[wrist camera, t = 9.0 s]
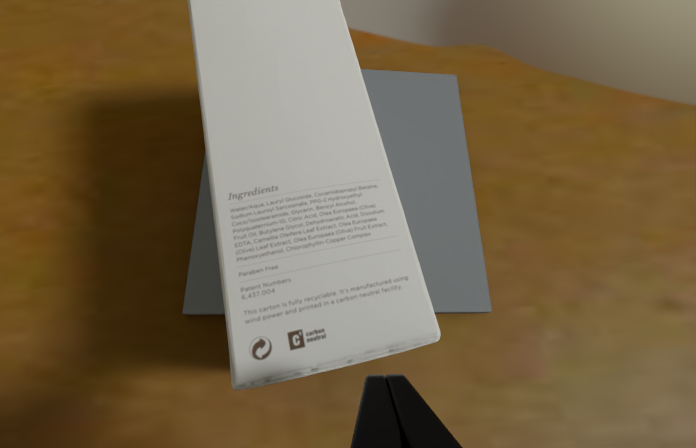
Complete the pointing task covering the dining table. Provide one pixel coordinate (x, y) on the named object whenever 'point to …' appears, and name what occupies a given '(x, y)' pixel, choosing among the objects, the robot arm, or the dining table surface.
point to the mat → (413, 189)
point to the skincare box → (301, 195)
